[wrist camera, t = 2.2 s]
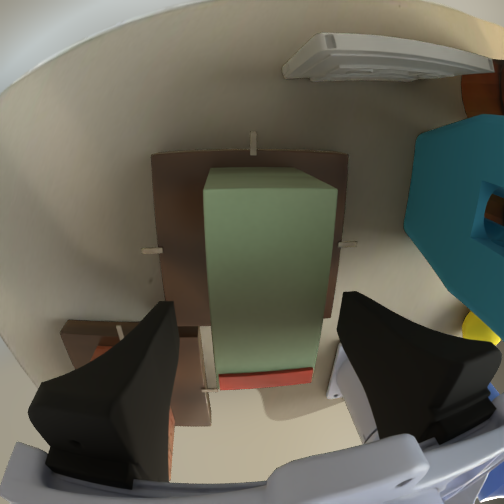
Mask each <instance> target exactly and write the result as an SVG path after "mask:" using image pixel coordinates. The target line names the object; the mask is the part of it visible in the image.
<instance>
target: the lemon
mask: <svg viewBox="0 0 504 504" xmlns="http://www.w3.org/2000/svg"><path fill="white" fill-rule="evenodd" d="M462 333H463V338H466V339H471V340H480V341H490V342H492V343H493V344H494V345H496V344H498V343H499V342H500V341H501V338H500V337H499V336H498V335H496V334H495V333H494V332H493V331H492V330H491V329H490V328H489V327H488V326H487V325H486V324H485V323H484V322H483V321H482V320H481V319H480V318H478V317H477V316H476V315H475V314H474V313H473V312H472V311H470V312H469V313H468V315H467V316H466V318H465V320H464V322H463V325H462Z"/></svg>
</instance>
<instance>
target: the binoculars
mask: <svg viewBox="0 0 504 504" xmlns="http://www.w3.org/2000/svg"><path fill="white" fill-rule="evenodd" d="M492 61H493V66H494V71H495V72H494V73H480V74H467V75H462V81H461V88H462V99H463V103H464V107H465V112H466V114H467V116H468V118H471V117H474V116H477V115H481V114H492V115H503V116H504V60H497V59H492ZM484 217H485V218H487V219H489V220H491V221H493V222H496V223H498V224H500V225H502V226H504V198H502V197H500V196H497V195H494V194H491V196H490V198H489V200H488V202H487V205H486V209H485V213H484Z"/></svg>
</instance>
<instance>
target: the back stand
mask: <svg viewBox="0 0 504 504" xmlns="http://www.w3.org/2000/svg"><path fill="white" fill-rule="evenodd" d="M139 323H140V322H104V321H80V320H68V321H67V322H66V324H65V325H64V327H63V328H62V330H61V331H60V335H61V338H62V340H63V343H64V345H65V348H66V350H67V352H68V355H69V357H70V359H71V361H72V364H73V366H74V368H75V370H76V369H78V368H80V367H82V366H84V365H86V364H87V363H89V362H90V361H91V358H92V356H93V354H94V352H95V350H96V347H97V346H111V347H113V346H115V345H116V344H117V343H118V342H119V341H121V340H122V339H123V338H124V337H125V336H126V335H127V334H128V333H129V332H130V331H132V330H133V329H134V328H135V327H136V326H137V325H138V324H139ZM178 332H179V338H180V346H179V360H178V366H177V371H176V376H175V381H174V386H173V392H172V397H171V403H170V407H171V410H172V413H173V417H174V420H175V426H211V407H210V401H209V394H208V392H218V388H208V387H207V380H206V373H205V366H204V358H203V350H202V342H201V334H200V326H178Z"/></svg>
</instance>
